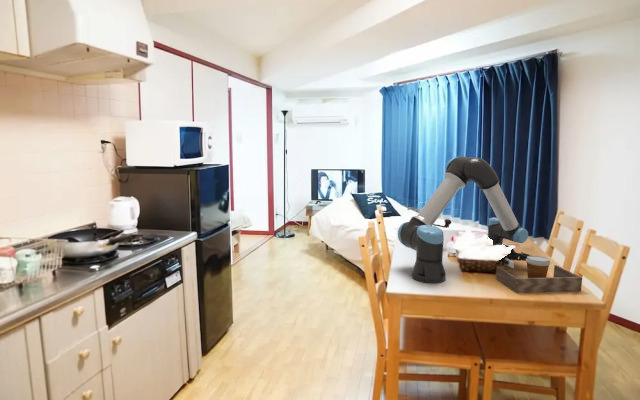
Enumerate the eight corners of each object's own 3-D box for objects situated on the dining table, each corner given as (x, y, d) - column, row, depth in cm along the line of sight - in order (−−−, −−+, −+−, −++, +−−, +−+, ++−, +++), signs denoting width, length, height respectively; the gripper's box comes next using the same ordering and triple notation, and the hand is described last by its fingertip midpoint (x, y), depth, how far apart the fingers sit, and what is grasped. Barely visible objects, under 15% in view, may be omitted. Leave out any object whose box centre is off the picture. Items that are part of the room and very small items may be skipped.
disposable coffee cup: (519, 282, 182) (520, 256, 180) (534, 279, 185) (536, 254, 183) (537, 289, 173) (540, 262, 171) (553, 286, 177) (555, 259, 175)
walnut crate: (515, 293, 169) (516, 279, 168) (496, 279, 186) (496, 266, 185) (580, 291, 171) (582, 277, 170) (555, 277, 188) (556, 265, 187)
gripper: (527, 258, 208) (553, 272, 187) (479, 259, 207) (500, 273, 186) (528, 244, 207) (554, 256, 186) (480, 245, 206) (501, 257, 185)
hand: (527, 265), depth 186 cm, fingers open, 13 cm apart
